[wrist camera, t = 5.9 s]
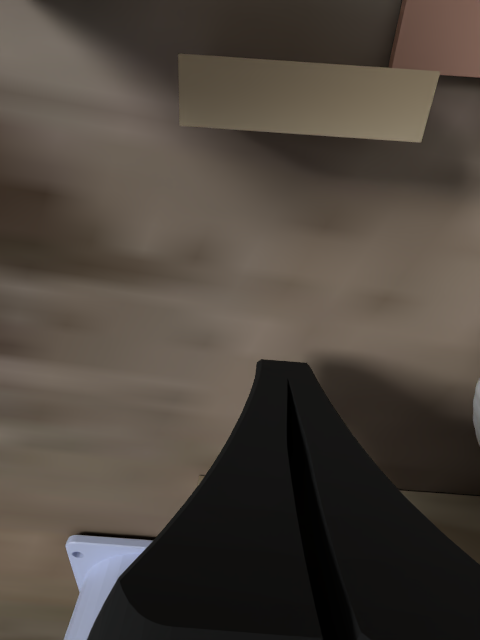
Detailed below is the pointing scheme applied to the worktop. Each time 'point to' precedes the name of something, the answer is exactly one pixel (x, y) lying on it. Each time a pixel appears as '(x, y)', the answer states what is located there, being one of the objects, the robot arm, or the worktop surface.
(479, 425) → the ramekin
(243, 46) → the worktop surface
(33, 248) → the worktop surface
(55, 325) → the worktop surface
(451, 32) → the lane
